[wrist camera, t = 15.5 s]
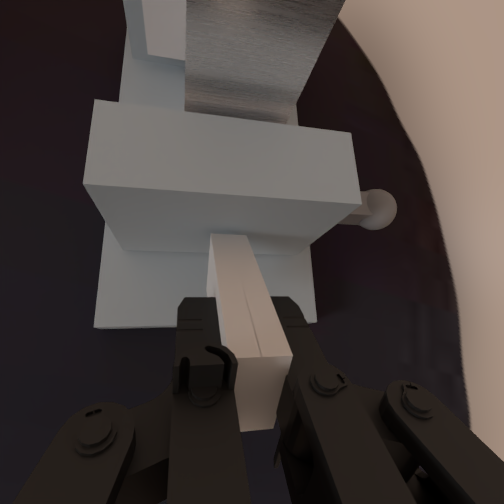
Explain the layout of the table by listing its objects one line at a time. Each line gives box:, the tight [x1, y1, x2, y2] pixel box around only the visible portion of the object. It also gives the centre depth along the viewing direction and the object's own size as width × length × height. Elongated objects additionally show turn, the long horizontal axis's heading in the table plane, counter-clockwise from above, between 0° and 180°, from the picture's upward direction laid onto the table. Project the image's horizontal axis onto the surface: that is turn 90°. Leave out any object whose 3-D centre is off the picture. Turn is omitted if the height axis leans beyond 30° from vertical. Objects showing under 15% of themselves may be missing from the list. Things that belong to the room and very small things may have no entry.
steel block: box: [184, 0, 345, 124], centre depth 13 cm, size 4×8×12 cm, turn 2°
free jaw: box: [83, 99, 397, 255], centre depth 14 cm, size 13×4×6 cm, turn 92°
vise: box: [94, 0, 317, 329], centre depth 16 cm, size 12×21×8 cm, turn 2°
